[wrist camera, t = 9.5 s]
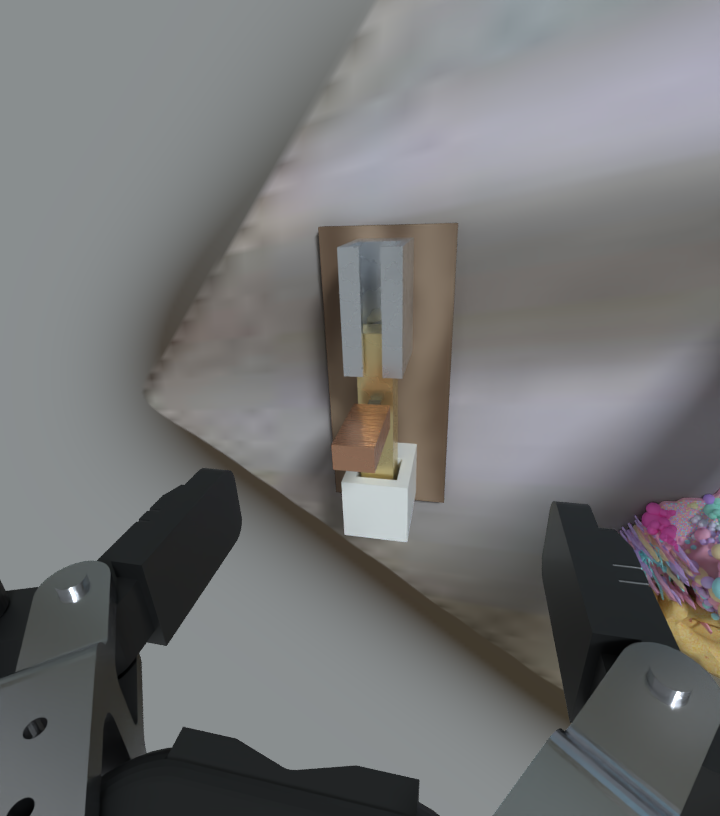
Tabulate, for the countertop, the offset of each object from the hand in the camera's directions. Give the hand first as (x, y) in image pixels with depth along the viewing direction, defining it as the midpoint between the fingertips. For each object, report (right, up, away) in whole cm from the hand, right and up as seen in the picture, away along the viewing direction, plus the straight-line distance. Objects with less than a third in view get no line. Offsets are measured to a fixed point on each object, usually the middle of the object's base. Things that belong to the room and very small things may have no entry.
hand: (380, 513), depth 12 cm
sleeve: (+2, +13, +30) cm, 32 cm away
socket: (+3, -3, +38) cm, 39 cm away
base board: (+2, +6, +34) cm, 35 cm away
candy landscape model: (+38, -13, +35) cm, 53 cm away
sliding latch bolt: (+1, +2, +31) cm, 31 cm away
